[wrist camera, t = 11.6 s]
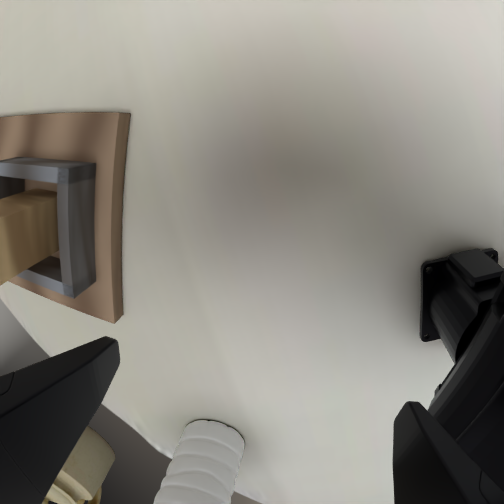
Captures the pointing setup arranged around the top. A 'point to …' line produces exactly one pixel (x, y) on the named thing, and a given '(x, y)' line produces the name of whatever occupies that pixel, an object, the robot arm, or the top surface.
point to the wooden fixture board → (73, 202)
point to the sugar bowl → (83, 471)
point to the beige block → (27, 230)
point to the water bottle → (203, 465)
